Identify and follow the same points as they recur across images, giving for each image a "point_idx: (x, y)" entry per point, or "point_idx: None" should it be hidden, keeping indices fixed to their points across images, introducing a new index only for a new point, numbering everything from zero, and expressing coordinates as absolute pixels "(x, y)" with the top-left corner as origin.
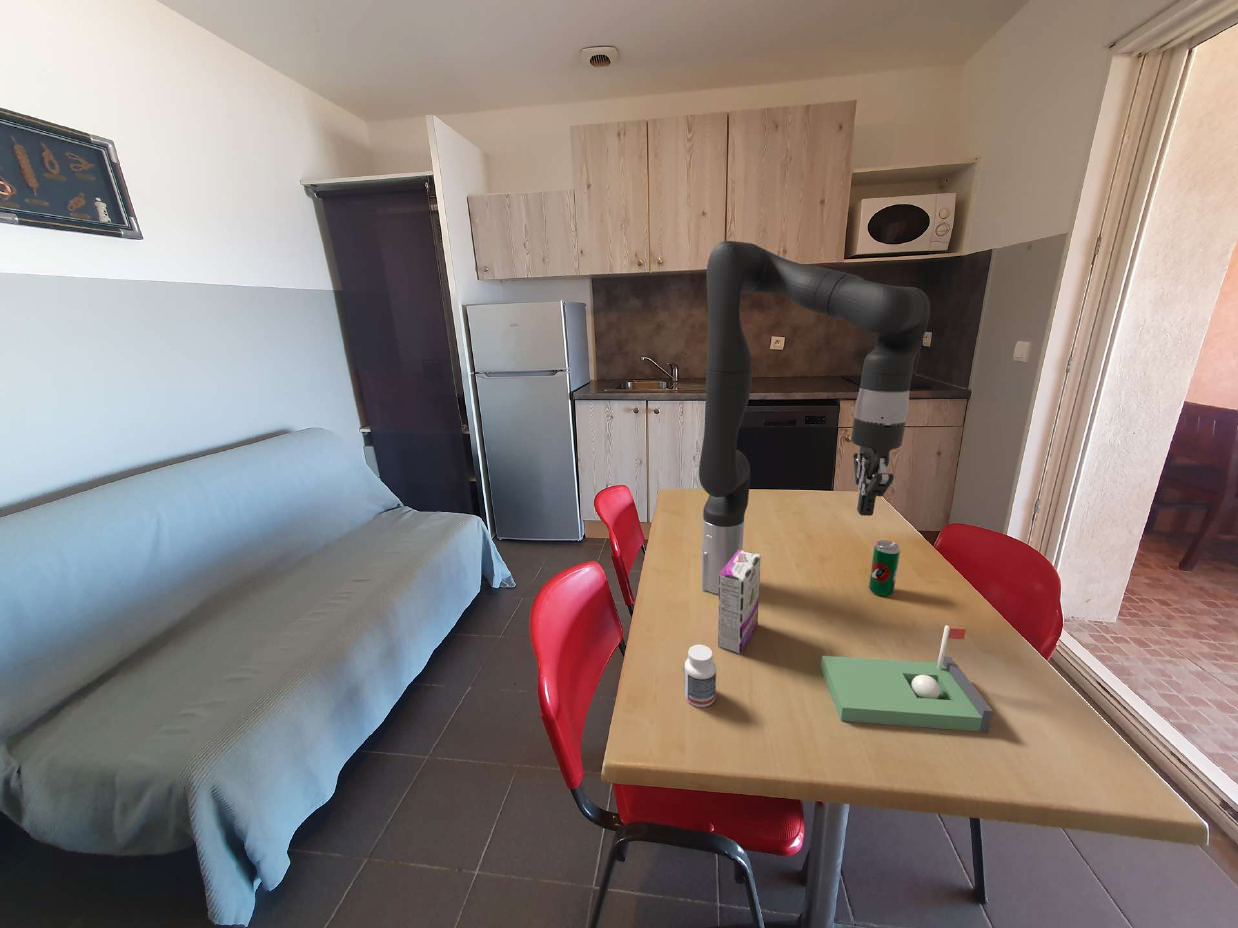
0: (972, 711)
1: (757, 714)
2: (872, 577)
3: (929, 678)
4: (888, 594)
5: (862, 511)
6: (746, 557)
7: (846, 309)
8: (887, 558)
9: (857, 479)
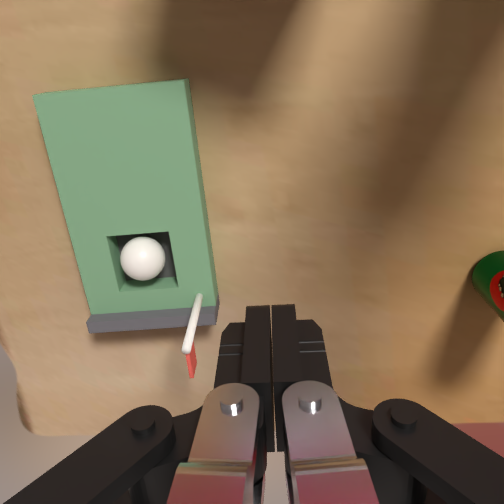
0: (101, 306)
1: None
2: None
3: (136, 270)
4: (473, 283)
5: (242, 325)
6: None
7: None
8: None
9: (400, 438)
